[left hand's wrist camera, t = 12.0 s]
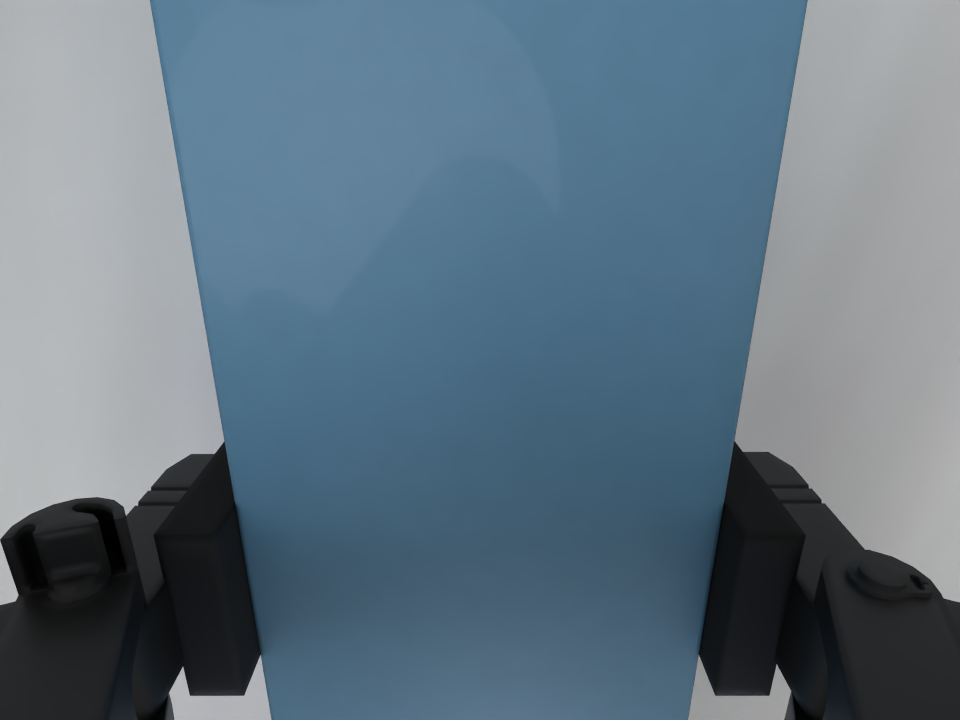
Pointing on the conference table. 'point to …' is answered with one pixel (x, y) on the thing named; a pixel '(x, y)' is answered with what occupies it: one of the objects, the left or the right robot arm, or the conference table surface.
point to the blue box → (479, 332)
